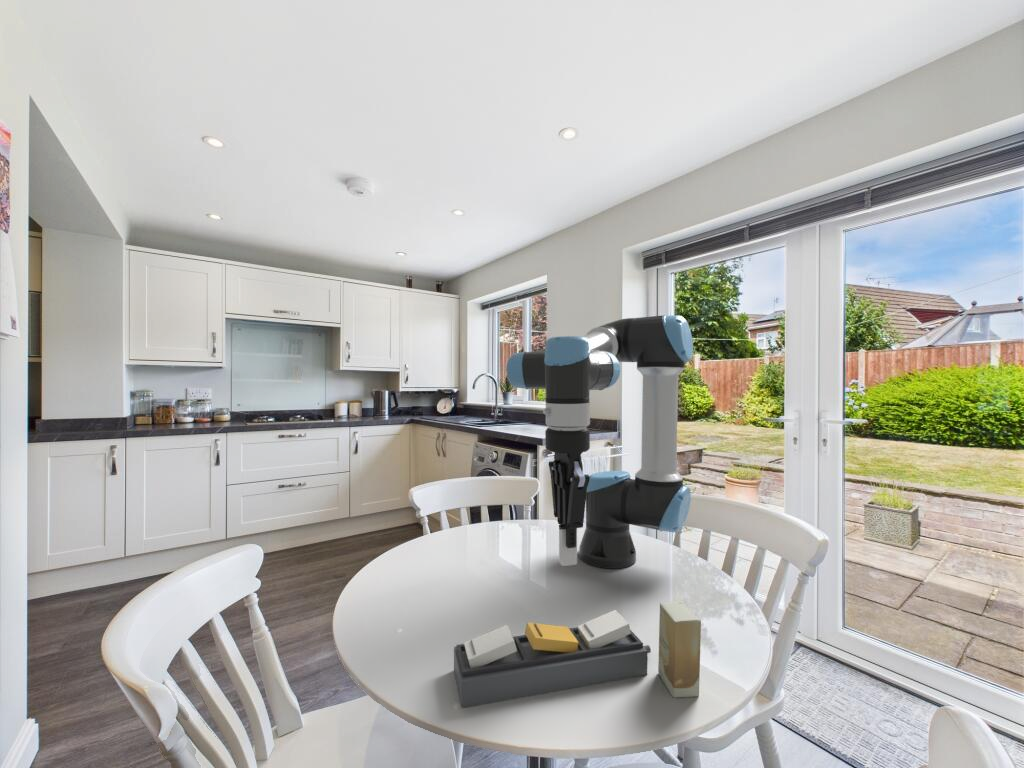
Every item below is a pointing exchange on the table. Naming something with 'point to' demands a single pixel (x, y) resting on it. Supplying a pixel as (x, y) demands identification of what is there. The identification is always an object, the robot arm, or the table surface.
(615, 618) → the block
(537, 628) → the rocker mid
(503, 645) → the rocker
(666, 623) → the skincare box
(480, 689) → the power strip
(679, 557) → the table surface
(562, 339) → the robot arm
